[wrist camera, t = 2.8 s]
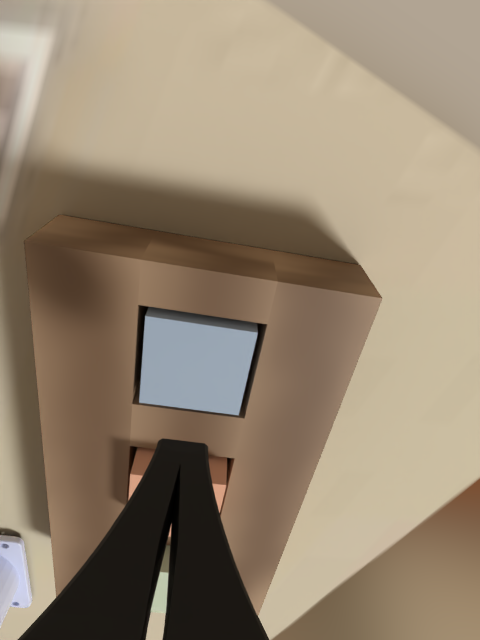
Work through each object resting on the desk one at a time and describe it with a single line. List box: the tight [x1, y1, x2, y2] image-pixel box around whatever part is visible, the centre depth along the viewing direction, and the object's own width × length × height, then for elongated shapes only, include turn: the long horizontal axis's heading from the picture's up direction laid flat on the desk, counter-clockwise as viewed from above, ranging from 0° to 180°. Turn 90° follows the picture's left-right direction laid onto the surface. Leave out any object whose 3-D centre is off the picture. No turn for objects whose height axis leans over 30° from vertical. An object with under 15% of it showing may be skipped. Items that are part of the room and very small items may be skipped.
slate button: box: [139, 307, 258, 415], centre depth 17 cm, size 4×4×2 cm
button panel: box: [24, 215, 382, 615], centre depth 20 cm, size 12×22×3 cm, turn 170°
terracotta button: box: [129, 447, 227, 537], centre depth 19 cm, size 4×4×2 cm
